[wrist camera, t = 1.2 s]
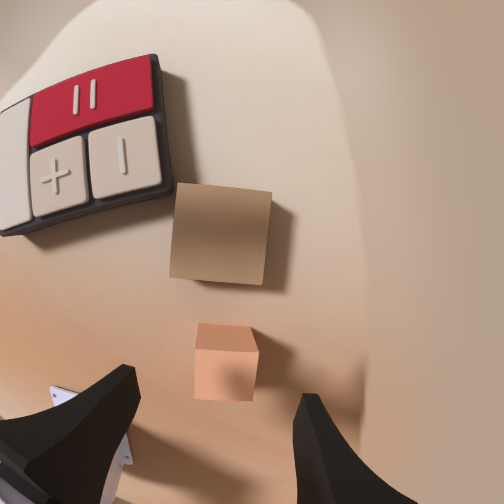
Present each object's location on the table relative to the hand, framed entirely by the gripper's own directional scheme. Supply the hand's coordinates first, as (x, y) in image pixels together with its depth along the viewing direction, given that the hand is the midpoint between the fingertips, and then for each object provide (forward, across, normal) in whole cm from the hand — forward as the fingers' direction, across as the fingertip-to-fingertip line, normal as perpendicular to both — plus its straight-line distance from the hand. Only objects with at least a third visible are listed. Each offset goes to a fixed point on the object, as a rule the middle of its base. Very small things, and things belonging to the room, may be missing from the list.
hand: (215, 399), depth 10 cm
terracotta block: (+10, +1, +4) cm, 11 cm away
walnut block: (+12, +2, -4) cm, 13 cm away
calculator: (+11, +14, -10) cm, 20 cm away
